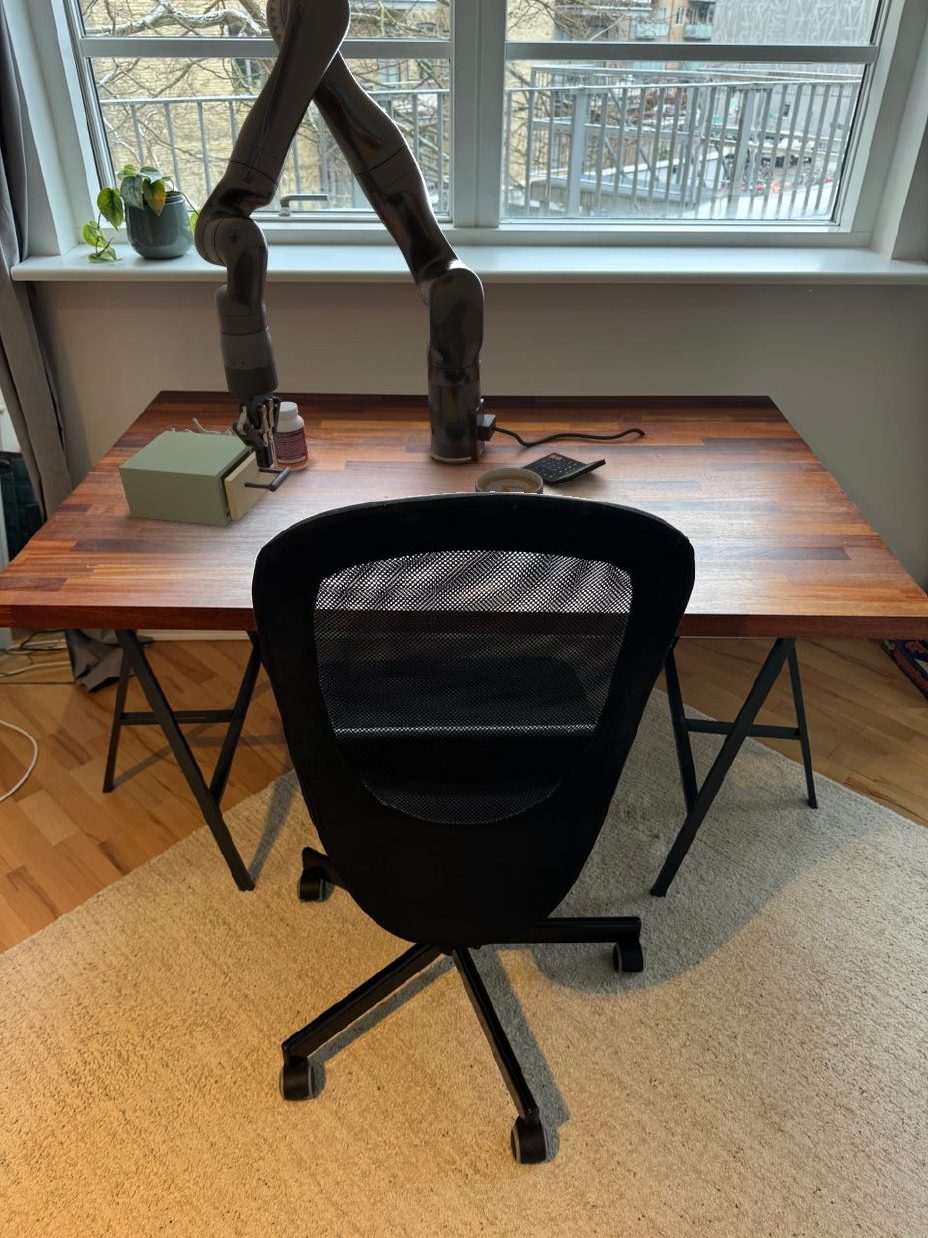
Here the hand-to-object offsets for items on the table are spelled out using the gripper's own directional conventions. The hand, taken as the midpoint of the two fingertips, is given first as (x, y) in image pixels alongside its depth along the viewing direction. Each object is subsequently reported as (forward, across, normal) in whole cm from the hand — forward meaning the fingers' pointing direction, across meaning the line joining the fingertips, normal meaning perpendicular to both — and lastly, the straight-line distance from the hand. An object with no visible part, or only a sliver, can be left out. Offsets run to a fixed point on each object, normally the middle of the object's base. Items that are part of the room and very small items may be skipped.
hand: (265, 465), depth 141 cm
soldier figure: (+8, +21, +23) cm, 32 cm away
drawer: (+7, 0, +8) cm, 10 cm away
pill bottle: (+8, +16, +3) cm, 18 cm away
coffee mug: (+7, -2, -40) cm, 41 cm away
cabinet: (+8, 0, +13) cm, 15 cm away
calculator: (+7, +21, -45) cm, 50 cm away
